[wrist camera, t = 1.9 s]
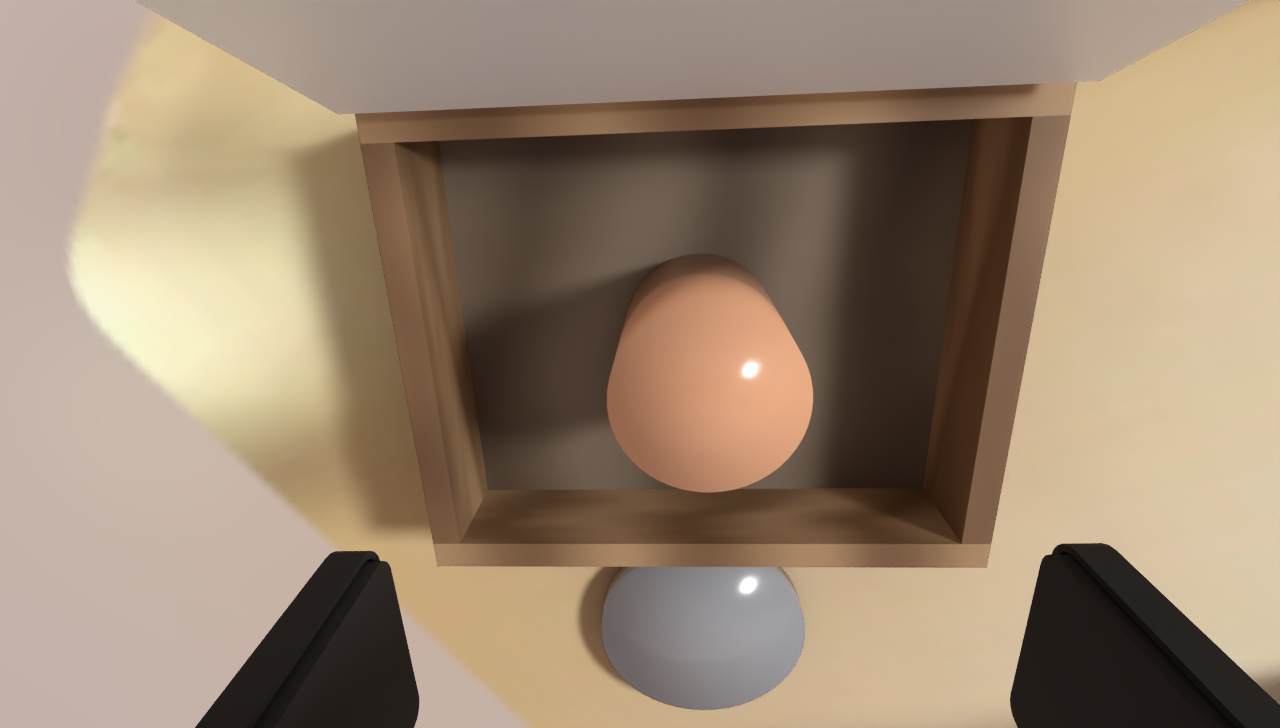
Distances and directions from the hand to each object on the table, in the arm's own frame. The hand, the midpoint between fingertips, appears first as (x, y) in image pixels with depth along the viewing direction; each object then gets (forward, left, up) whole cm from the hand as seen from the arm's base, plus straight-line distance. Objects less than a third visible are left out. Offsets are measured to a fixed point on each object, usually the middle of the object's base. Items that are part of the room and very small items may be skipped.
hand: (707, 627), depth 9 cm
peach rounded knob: (0, 0, -16) cm, 16 cm away
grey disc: (0, +14, -16) cm, 21 cm away
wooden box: (0, 0, -16) cm, 16 cm away
